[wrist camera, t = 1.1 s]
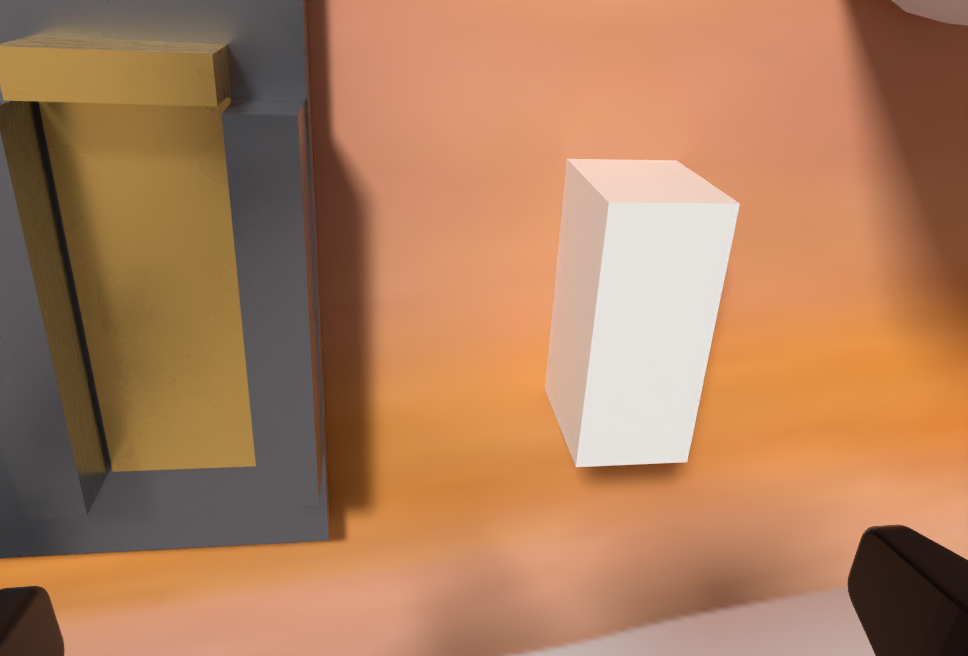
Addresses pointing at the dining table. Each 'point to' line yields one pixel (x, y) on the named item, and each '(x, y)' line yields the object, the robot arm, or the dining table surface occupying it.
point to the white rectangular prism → (635, 307)
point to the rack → (158, 278)
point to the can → (937, 10)
